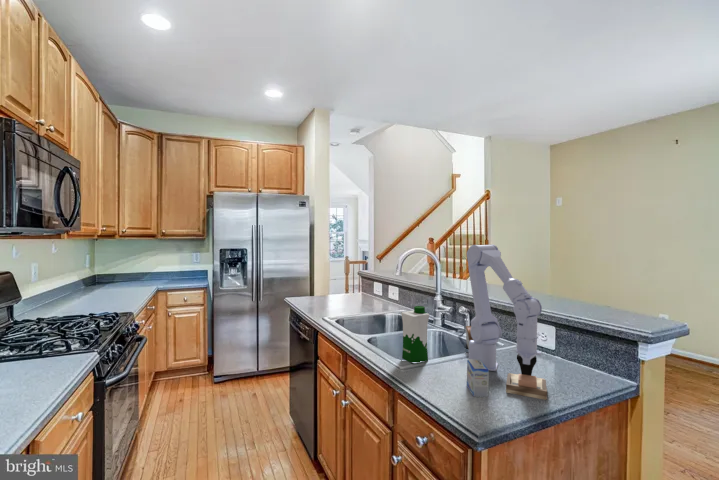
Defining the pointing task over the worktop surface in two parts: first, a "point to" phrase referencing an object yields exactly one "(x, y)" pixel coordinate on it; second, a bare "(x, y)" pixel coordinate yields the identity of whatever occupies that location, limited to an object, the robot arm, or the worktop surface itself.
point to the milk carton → (415, 334)
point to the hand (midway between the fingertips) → (526, 379)
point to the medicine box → (477, 378)
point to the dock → (526, 391)
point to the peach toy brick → (527, 381)
